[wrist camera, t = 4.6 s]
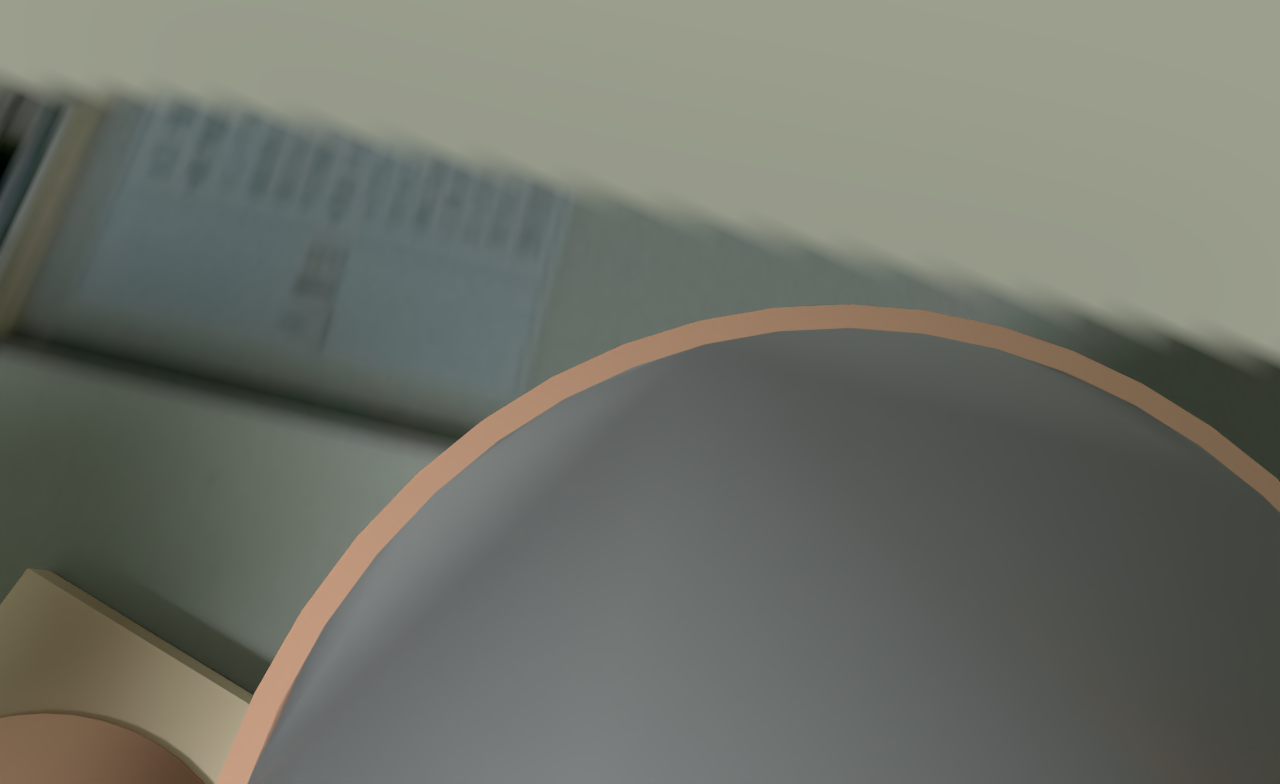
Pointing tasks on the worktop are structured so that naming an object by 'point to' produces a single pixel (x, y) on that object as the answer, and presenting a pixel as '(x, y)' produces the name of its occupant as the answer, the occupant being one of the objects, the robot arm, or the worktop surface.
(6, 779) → the board
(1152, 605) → the tube terracotta
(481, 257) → the worktop surface
